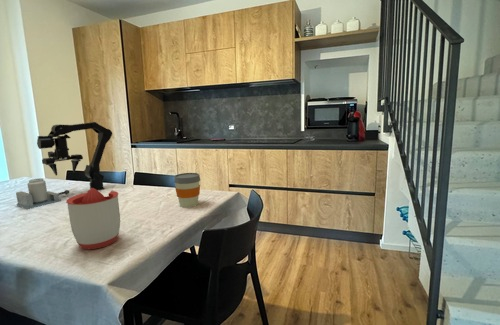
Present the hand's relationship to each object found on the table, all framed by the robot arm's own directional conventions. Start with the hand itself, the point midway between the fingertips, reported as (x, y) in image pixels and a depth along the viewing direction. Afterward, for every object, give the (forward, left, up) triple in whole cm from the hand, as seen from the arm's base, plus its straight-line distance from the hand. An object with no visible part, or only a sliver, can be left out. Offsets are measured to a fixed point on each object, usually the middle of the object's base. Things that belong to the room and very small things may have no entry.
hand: (65, 173), depth 154 cm
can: (+14, +4, -12) cm, 19 cm away
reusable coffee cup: (-36, +70, -13) cm, 80 cm away
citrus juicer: (+8, +80, -13) cm, 81 cm away
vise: (+11, +4, -13) cm, 17 cm away
